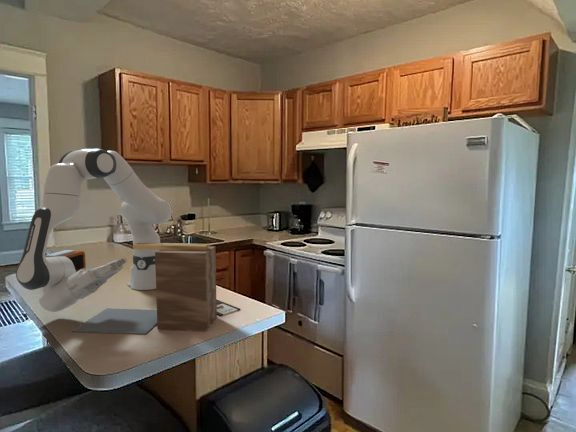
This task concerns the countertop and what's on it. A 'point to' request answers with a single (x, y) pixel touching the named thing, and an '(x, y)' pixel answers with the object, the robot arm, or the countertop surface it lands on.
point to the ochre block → (171, 246)
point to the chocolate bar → (225, 308)
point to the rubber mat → (120, 321)
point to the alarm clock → (72, 258)
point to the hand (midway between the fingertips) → (118, 263)
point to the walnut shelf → (186, 289)
